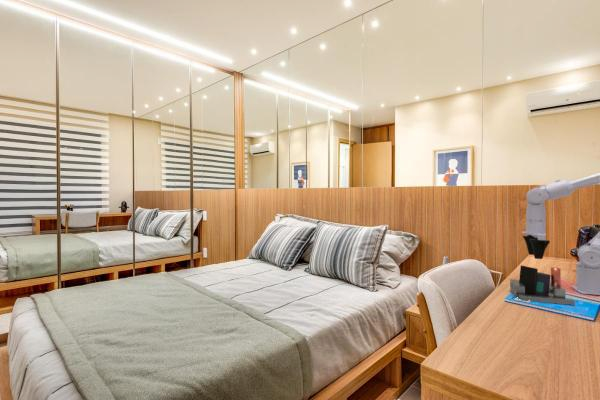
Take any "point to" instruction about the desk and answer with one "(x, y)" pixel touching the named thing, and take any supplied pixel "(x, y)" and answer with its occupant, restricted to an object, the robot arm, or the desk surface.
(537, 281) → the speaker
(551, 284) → the jaw slide
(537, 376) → the desk surface
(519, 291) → the vise body
